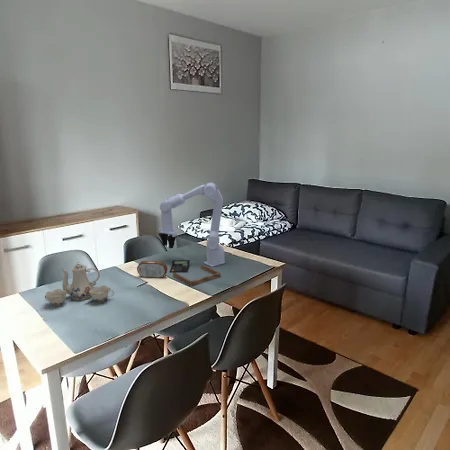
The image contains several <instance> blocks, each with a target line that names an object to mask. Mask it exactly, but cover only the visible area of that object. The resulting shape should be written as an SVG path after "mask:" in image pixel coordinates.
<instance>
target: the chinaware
mask: <svg viewBox="0 0 450 450" xmlns="http://www.w3.org/2000/svg"><path fill="white" fill-rule="evenodd" d="M70 270H71V273H72V281H71V282H72V283H71V284H69V273H68V271H67V270H66V269H65V268H62V269H61V271H62V272H63V274H64V275H63V279H62V289H61V288H56V289H54V290H52V291H47V292H45V295H44V299H45V300H46V301H47V302H49V303H50V304H51V305H53V307H60V306H61V305H62V304H63V302H64V301H65V299H66V296H67V295H69V296H70V297H71V299H72V300H74V301H86V300H87V299H90V298H92V299H93V300H94V301H95V302H96V303H103V302H105V300H108V298H111V297H113V296H114V294H115V293H114V290H113V289H111V288H110V287H108V286H107V285H101V286H96V285H97V282H98V280H99V279H100V276H101V275H100V271H99V270H98V269H97V268H94V267H92V268H91V267H90V268H88V267H87V265H84V264H81V263H80V261H78V262H76V264H75V265H74V266H73V267H71V268H70ZM91 270H93V271H96V272H97V278H96V279H95V280H93V281H89V279H88V275H87V273H91ZM109 292H112V295H110V296H109Z"/></svg>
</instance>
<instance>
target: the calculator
mask: <svg viewBox="0 0 450 450" xmlns="http://www.w3.org/2000/svg"><path fill="white" fill-rule="evenodd" d="M190 262H191V260H190V259H189V260H188V259H187V260H186V259H184V260H183V259H182V260H181V259H179V260H177V259H173V260H172V261H171V267H170V269H169V273H172V274H173V273H177V274H179V273H188V272H189V268H190Z"/></svg>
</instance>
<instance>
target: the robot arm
mask: <svg viewBox="0 0 450 450" xmlns="http://www.w3.org/2000/svg"><path fill="white" fill-rule="evenodd" d="M198 195H199V196H206V197H207V198H209V199H210V200H211V201H212V202H213V207H212V208H213V209H212V215H211V216H212V217H211V224H210V231H209V236H208V238H207V241H206V261H203V264H204V265H207V266H208V267H212V268H213V267H216V266H220V265H223V264H225V263H226V261H225V249H224V248H223V246H222V245H221V246H220V245H219V243H220V236H219V235H220V234H219V232H220V224H221V217H222V213H223V212H222V210H223V204H224V198H223V197H224V196H223V195H222V193H221V192H220V189H219V187H218V186H217V185H216V184H215V183H214V182H207V183H206V184H205V183H204V184H202V185H199V186H197V187H195V188H193V189H191V190H188V191H187V192H184V193H183V194H181V193H176V194H174V195H173V196H171V197H170V198H169V197H168V198H166V200H165V199H164V200H163V201H162V202H161V203H160V204H159V210H160V211H161V212H160V213H161V215H160V216H161V217H160V218H161V227H159V228H158V236H159V237H160V240H161V243H162V246H168V248H169V249H174V246H175V242H176V239H177V237H178V236H177V233H176V231H175V230H174V229H173V213H172V211H173V210H172V209H175V208H177V207H180V206H181V205H183V204H185V203H186V201H187V200H189V199H191V198H193V197H196V196H198Z"/></svg>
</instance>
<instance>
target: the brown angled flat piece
mask: <svg viewBox="0 0 450 450" xmlns="http://www.w3.org/2000/svg"><path fill="white" fill-rule="evenodd" d="M200 269H201V270H203V271H205V272H207V273H209V274H210V275H207V276H204V277H201V278H198V279H197V278H196V279H195V280H190V279H188V278H186V277H185V276H183V275H180V274H179V273H172V277H173V278H174V279H176V280H178V281H180V282H182V283H184V284H186V285H188V286H189V287H194V286H196V285H199V284H200V285H201V284H203V283H206V282H208V281H209V282H210V281H212V280H215V279H217V278H221V277H222V276H221V272H220V271H218V270H215V269H212V268H210V267H209V266H206V265H205V264H200Z"/></svg>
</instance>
